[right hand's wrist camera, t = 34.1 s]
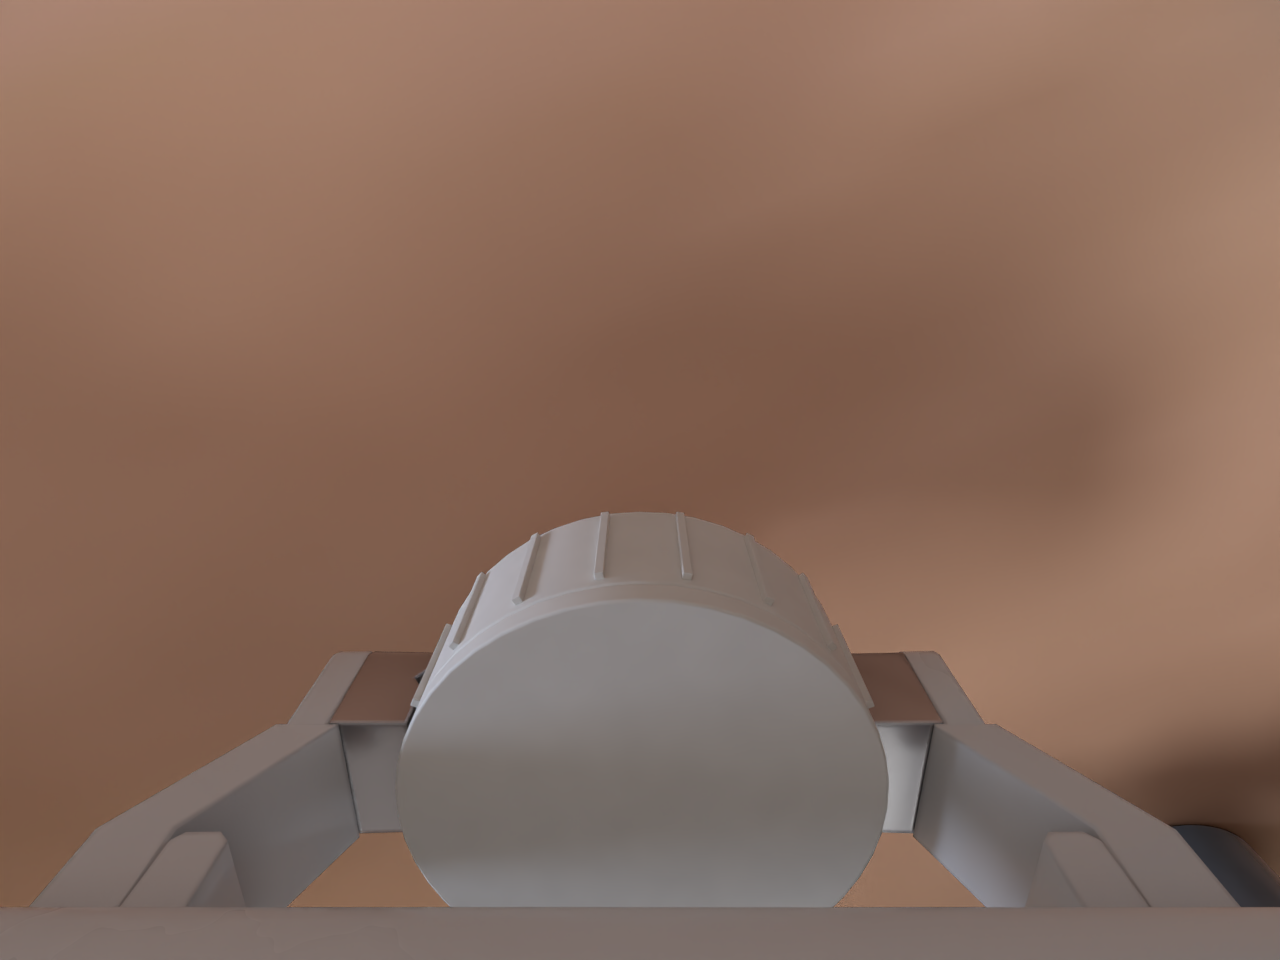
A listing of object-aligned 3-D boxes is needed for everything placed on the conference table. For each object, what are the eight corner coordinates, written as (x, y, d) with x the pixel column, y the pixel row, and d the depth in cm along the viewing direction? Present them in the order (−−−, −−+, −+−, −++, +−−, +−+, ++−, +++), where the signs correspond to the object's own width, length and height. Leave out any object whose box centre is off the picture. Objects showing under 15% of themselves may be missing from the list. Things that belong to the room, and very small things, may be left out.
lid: (764, 436, 9) (801, 510, 7) (895, 772, 11) (953, 904, 9) (361, 599, 10) (288, 706, 8) (550, 882, 12) (532, 1028, 10)
